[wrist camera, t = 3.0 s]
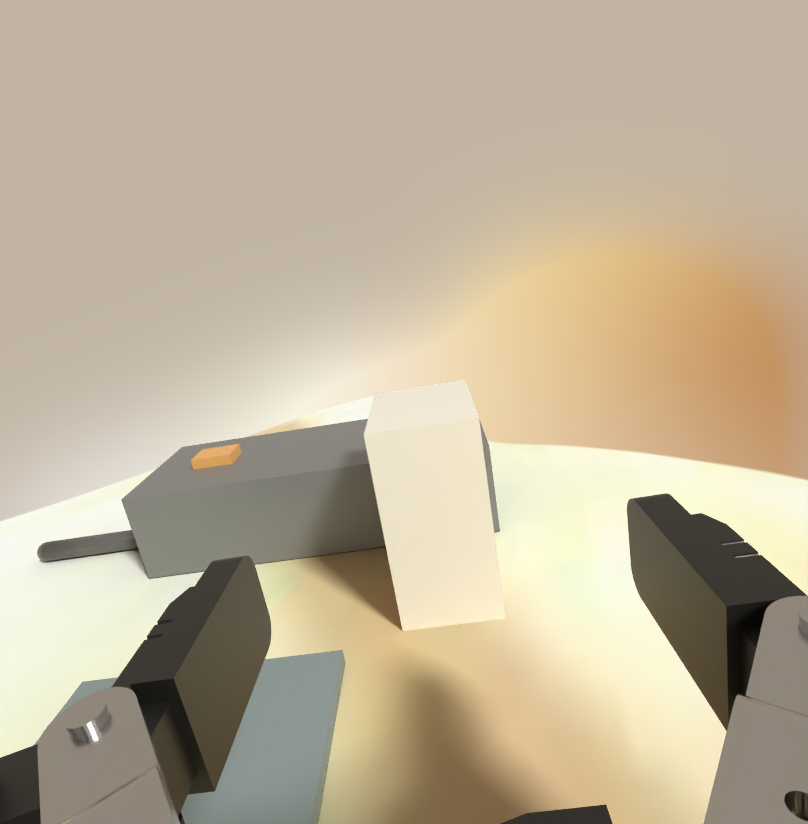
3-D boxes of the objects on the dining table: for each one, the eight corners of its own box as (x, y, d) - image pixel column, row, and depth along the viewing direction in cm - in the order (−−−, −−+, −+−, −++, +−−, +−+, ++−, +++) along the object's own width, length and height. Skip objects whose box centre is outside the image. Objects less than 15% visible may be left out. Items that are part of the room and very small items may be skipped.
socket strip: (-3, 598, 31) (-41, 513, 30) (79, 529, 39) (52, 458, 38) (499, 531, 29) (487, 435, 28) (482, 472, 37) (472, 394, 36)
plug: (402, 631, 23) (363, 434, 21) (406, 526, 32) (379, 379, 29) (505, 618, 23) (478, 417, 20) (481, 516, 31) (460, 366, 29)
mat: (-199, 1082, 12) (-212, 1066, 12) (87, 693, 23) (82, 681, 22) (279, 1047, 11) (272, 1030, 11) (345, 662, 22) (342, 650, 22)
